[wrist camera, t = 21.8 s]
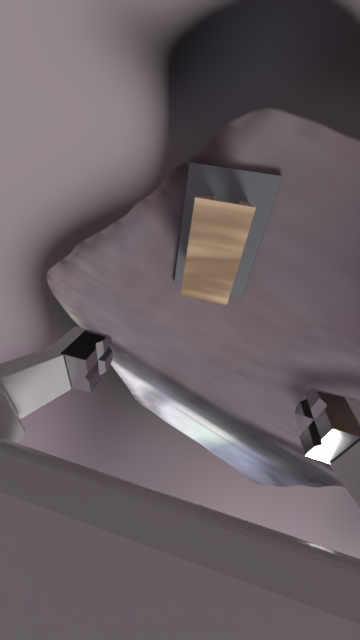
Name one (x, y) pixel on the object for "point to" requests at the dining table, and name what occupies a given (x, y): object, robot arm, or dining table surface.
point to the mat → (231, 189)
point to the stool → (215, 247)
